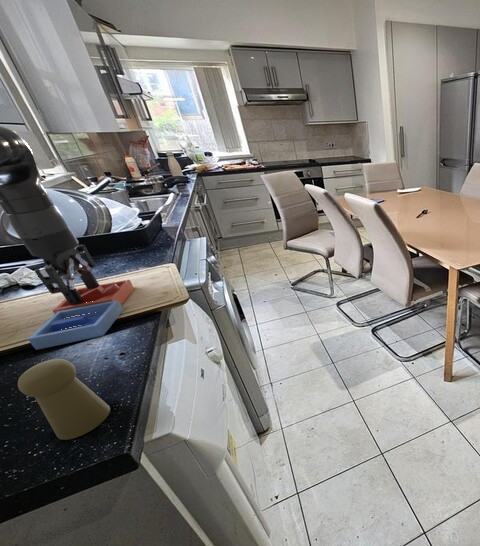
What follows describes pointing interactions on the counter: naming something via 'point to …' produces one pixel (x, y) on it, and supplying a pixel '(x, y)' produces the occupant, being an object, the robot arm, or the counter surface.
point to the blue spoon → (73, 322)
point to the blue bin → (51, 338)
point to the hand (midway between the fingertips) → (86, 295)
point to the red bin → (119, 295)
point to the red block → (99, 293)
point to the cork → (63, 398)
